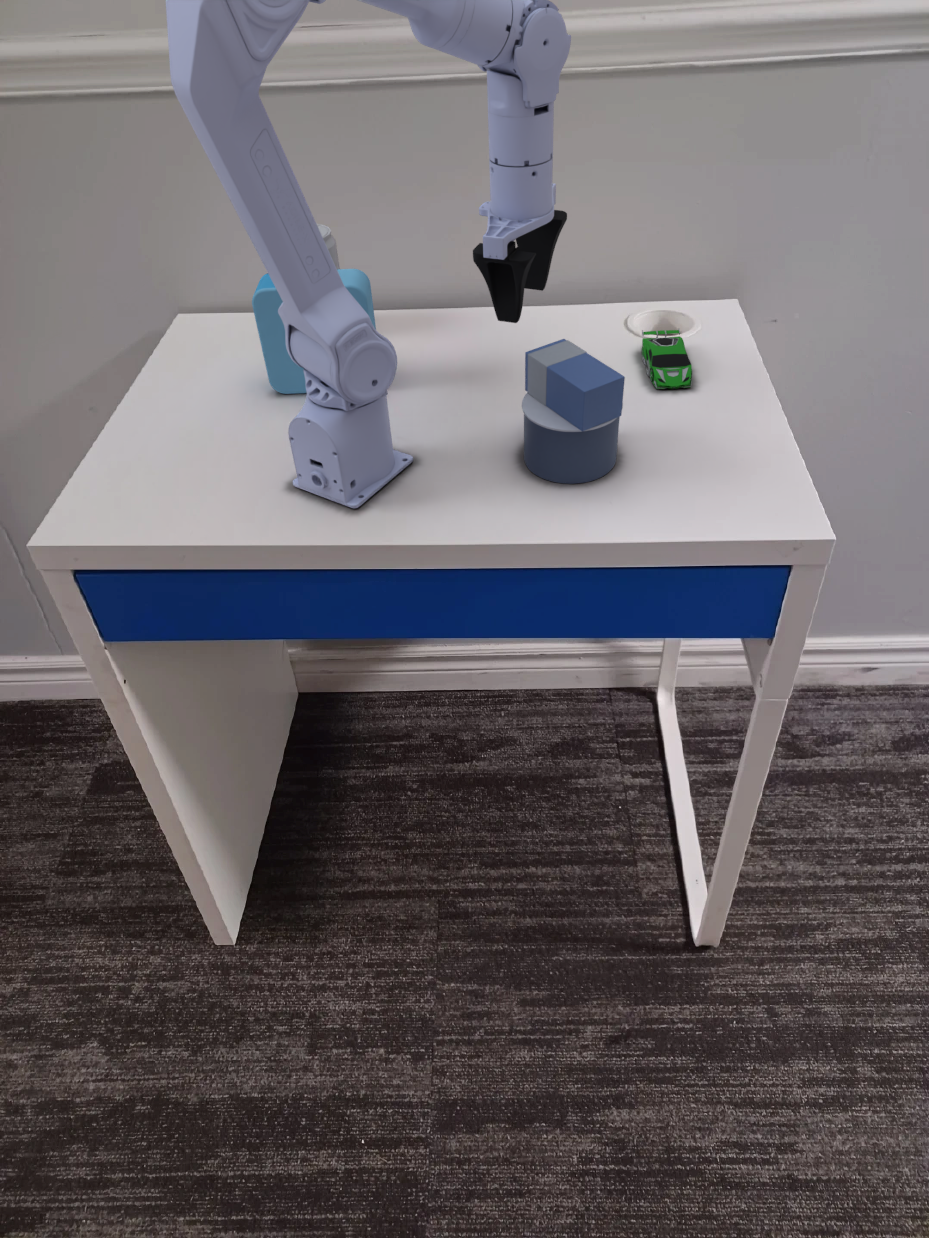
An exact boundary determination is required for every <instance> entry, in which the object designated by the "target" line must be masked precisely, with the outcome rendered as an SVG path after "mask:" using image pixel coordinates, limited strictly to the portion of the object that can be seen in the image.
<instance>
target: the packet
mask: <svg viewBox="0 0 929 1238" xmlns="http://www.w3.org/2000/svg"><path fill="white" fill-rule="evenodd" d="M625 381H626V377H625V375H623V374H621V373H619V372H618V371H617V370H615V369H614V368H612V367H610V366H609V365H607V364H606V363H604V362H602V361H601V360H599V359H597V358H596V357H594V356H593V355H591V354H589V353H588V352H587V351H586V350H584V349H583V348H581V347H579V346H578V345H576V344H575V343H573V342H572V341H570V340H569V339H568V340H567V339H566V338H562V339H558V340H556V341H553V342H550V343H548V344H545V345H542V346H539V347H536V348H533V349H529V350H527V351H525V353H524V383H525V384H524V390H525V392H526V393H527V392H528V394H530V395H531V396H532V397H534V398H535V399H537V400H538V401H539V402H541V403H542V404H543V405H545V406H547V407H549V408H550V409H552V410H553V411H554V412H556V413H557V414H559V415H560V416H561V417H563V418H564V419H566V420H567V421H568V422H570V423H571V424H572V425H574V426H575V427H577V428H578V429H579V430H581V431H585V430H588V429H590V428H593V427H595V426H598V425H600V424H603V423H605V422H608V421H610V420H613V419H615V418H618V417H620V418H621V417H622V412H623V408H622V403H623V402H624V401H623V400H624V392H625V391H624V390H625ZM623 404H624V403H623Z"/></svg>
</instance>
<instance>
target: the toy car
mask: <svg viewBox="0 0 929 1238" xmlns="http://www.w3.org/2000/svg"><path fill="white" fill-rule="evenodd" d="M671 334H679V336H669V337H667V335H671ZM648 335H653V336H654V335H656V337H644V336H648ZM659 335H664V337H659ZM680 335H681V329H680V328H678V329H669V330H666V329H665V330H663V329H661V330H650V331H649V330H648V331H644V330H643V329H642V330H641V336H642V343H641V357H642V358H641V360H642V362H643V364H644V365H645V366H646V368H645V369H646V374H647V377H649V378H650V382H651V383H652V385H653V387H655V389H656V390H657V389H658V390H659V389H660V390H665V389H670V390H674V389H675V390H676V389H680V388H683V389H685V388H692V385H693V384H692V383H693V378H692V377H693V366H692V363H691V361H690V358H689V357H688V353H687V350H686V347H685V342H684V339H683V338H682V337H681V336H680Z"/></svg>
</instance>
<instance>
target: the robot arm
mask: <svg viewBox="0 0 929 1238" xmlns="http://www.w3.org/2000/svg"><path fill="white" fill-rule="evenodd" d="M326 1H327V0H165V13H166V14H165V15H166V29H167V30H166V31H167V43H168V61H169V62H168V63H169V75H170V82H171V85H172V89H173V92H174V95H175V97H176V99H177V101H178V103H179V105H180V106H181V108H182V110H183V112H184V114H185V116H186V119H187V120H188V122H189V124H190V126H191V128H192V130H193V131H194V133H195V135H196V137H197V139H198V142H199V143H200V145H201V147H202V149H203V151H204V153H205V154H206V157H207V158H208V161H209V162H210V164H211V166H212V168H213V170H214V172H215V174H216V176H217V178H218V180H219V182H220V184H221V185H222V187H223V190H224V192H225V193H226V196H227V197H228V199H229V201H230V203H231V205H232V206H233V209H234V210H235V213H236V214H237V216H238V218H239V220H240V222H241V224H242V226H243V228H244V230H245V232H246V234H247V236H248V238H249V239H250V241H251V244H252V245H253V247H254V249H255V251H256V253H257V255H258V256H259V258H260V261H261V263H262V264H263V267H264V268H265V270H266V272H267V273H268V274H269V276H270V278H271V280H272V282H273V284H274V286H275V287H276V289H277V291H278V293H279V295H280V297H281V299H282V301H283V302H282V304H281V305H280V307H279V309H278V314H279V315H280V317H281V319H282V322H283V324H284V328H285V341H286V349H287V351H288V354H289V356H290V358H291V359H292V360H293V362H294V363H296V364H297V365H298V366H299V367H301V368H304V369H303V371H304V376H305V385H306V392H307V393H306V396H305V400H304V403H303V405H302V407H301V409H300V410H299V412H298V413H297V415H296V416H295V417H294V418H292V420H291V421H290V423H289V425H288V432H287V433H288V441H289V444H290V449H291V454H292V458H293V464H294V468H295V472H296V477H295V478H293V480H292V486H293V487H295V488H297V489H301V490H303V491H306V492H308V493H311V494H314V495H316V496H318V497H321V498H323V499H326V500H329V501H332V502H335V503H337V504H340V505H343V506H345V507H348V508H349V509H350V508H351V509H358V508H360V507H361V506H362V505H363V504H364V503H365V502H367V501H368V500H369V499H370V498H371V497H373V496H374V495H375V494H376V493H378V491H380V490H381V489H382V488H383V487H384V486H386V485H387V484H388V483H389V482H390V481H391V480H393V479H394V478H395V477H397V475H399V474H400V473H401V472H402V471H404V470H405V469H406V468H407V467H408V466H409V465H411V464H412V463H413V462H414V456H413V455H411V454H408V453H405V452H402V451H400V450H396V449H394V445H393V437H392V429H391V420H390V413H389V406H388V405H389V404H388V397H387V396H388V395H389V392H388V390H389V388H390V387H391V386H392V383H393V381H394V379H395V377H396V375H397V369H398V355H397V351H396V348H395V346H394V345H393V343H392V341H390V340H389V339H388V338H387V337H386V336H384V335H383V334H381V333H380V332H379V331H378V330H377V328H376V329H375V328H374V326H373V324H372V322H371V319H370V317H369V315H368V314H367V313H366V312H365V310H364V309H363V308H362V307H361V305H360V304H359V303H358V302H357V301H356V300H355V298H354V297H353V296H352V295H351V294H350V292H349V291H348V290H347V289H346V288H345V286H344V284H343V282H342V280H341V277H340V275H339V273H338V271H337V269H336V266H335V264H334V262H333V260H332V257H331V255H330V253H329V251H328V248H327V246H326V244H325V242H324V240H323V237H322V235H321V233H320V231H319V228H318V226H317V224H318V223H317V222H316V220H315V217H314V215H313V213H312V211H311V209H310V206H309V204H308V202H307V199H306V198H305V195H304V193H303V191H302V188H301V186H300V184H299V182H298V179H297V177H296V175H295V173H294V170H293V168H292V166H291V164H290V162H289V159H288V157H287V155H286V153H285V151H284V148H283V146H282V144H281V141H280V139H279V137H278V135H277V132H276V130H275V128H274V126H273V123H272V121H271V119H270V117H269V115H268V112H267V110H266V108H265V106H264V104H263V102H262V101H263V100H261V97H260V87H261V85H262V83H263V79H264V76H265V73H266V70H267V68H268V66H269V64H270V63H271V62H272V60H273V58H274V57H275V55H276V54H277V53H278V51H279V50H280V49H281V47H282V46H283V44H284V42H285V41H286V39H287V38H288V37H289V35H290V34H291V32H292V31H293V30H294V28H295V26H296V25H297V23H298V22H299V21H300V19H301V18H302V16H303V14H304V12H305V10H306V9H307V7H308V5H309V3H312V4H318V5H321V4H323V3H326ZM357 1H358V2H361V3H363V4H367V5H369V6H372V7H375V8H378V9H381V10H385V11H387V12H390V13H393V14H396V15H399V16H401V17H404V18H407V20H408V23H409V26H410V30H411V32H412V33H413V36H414V37H415V39H416V40H417V41H418V43H420V44H421V45H423V46H424V47H427V48H430V49H434V50H436V51H439V52H442V53H444V54H447V55H450V56H452V57H455V58H458V59H460V60H463V61H465V62H469V63H470V64H474V65H476V66H477V67H478V68H479V69H480V70H481V71H482V72H485V73H486V89H487V90H486V93H487V94H486V95H487V126H488V127H487V128H488V129H487V131H488V164H489V165H488V166H489V169H488V170H489V193H490V194H489V196H490V201H489V200H487V201H484V202H483V203H482V204H481V205H480V206H479V207H478V215H479V216H481V217H487V225H486V231H485V233H484V234H483V235H482V242H479V243H478V244H477V245H476V246H475V247H474V248H473V249H472V260H473V263H474V264H475V266H476V267H477V268H478V270H479V271H480V273H481V275H482V277H483V279H484V282H485V284H486V286H487V288H488V291H489V295H490V298H491V302H492V306H493V309H494V313H495V316H496V319H497V321H499V322H504V323H511V324H517V323H519V321H520V320H521V316H522V311H523V303H524V295H525V290H526V289H528V290H533V291H534V290H535V291H541V292H543V291H544V290H545V288H546V286H547V282H548V278H549V275H550V270H551V265H552V261H553V256H554V251H555V248H556V245H557V242H558V240H559V237H560V234H561V232H562V230H563V228H564V226H565V224H566V222H567V220H568V213H567V212H566V211H565V210H560V209H559V210H558V209H555V205H556V203H557V183H555V182H554V183H553V176H554V175H553V173H554V172H553V171H554V170H553V169H554V162H553V161H554V124H555V123H554V121H555V119H554V117H555V106H554V105H555V102H556V99H557V95H558V94H559V92H560V77H561V73H562V71H563V68H564V66H565V64H566V62H567V60H568V57H569V54H570V50H571V45H572V35H571V34H568V31H567V26H566V23H565V20H564V18H563V15H562V13H560V12H559V10H560V8H558V6H557V5H556V4H555V3H554V2H553V1H550V0H357ZM516 245H517V246H516Z"/></svg>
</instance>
